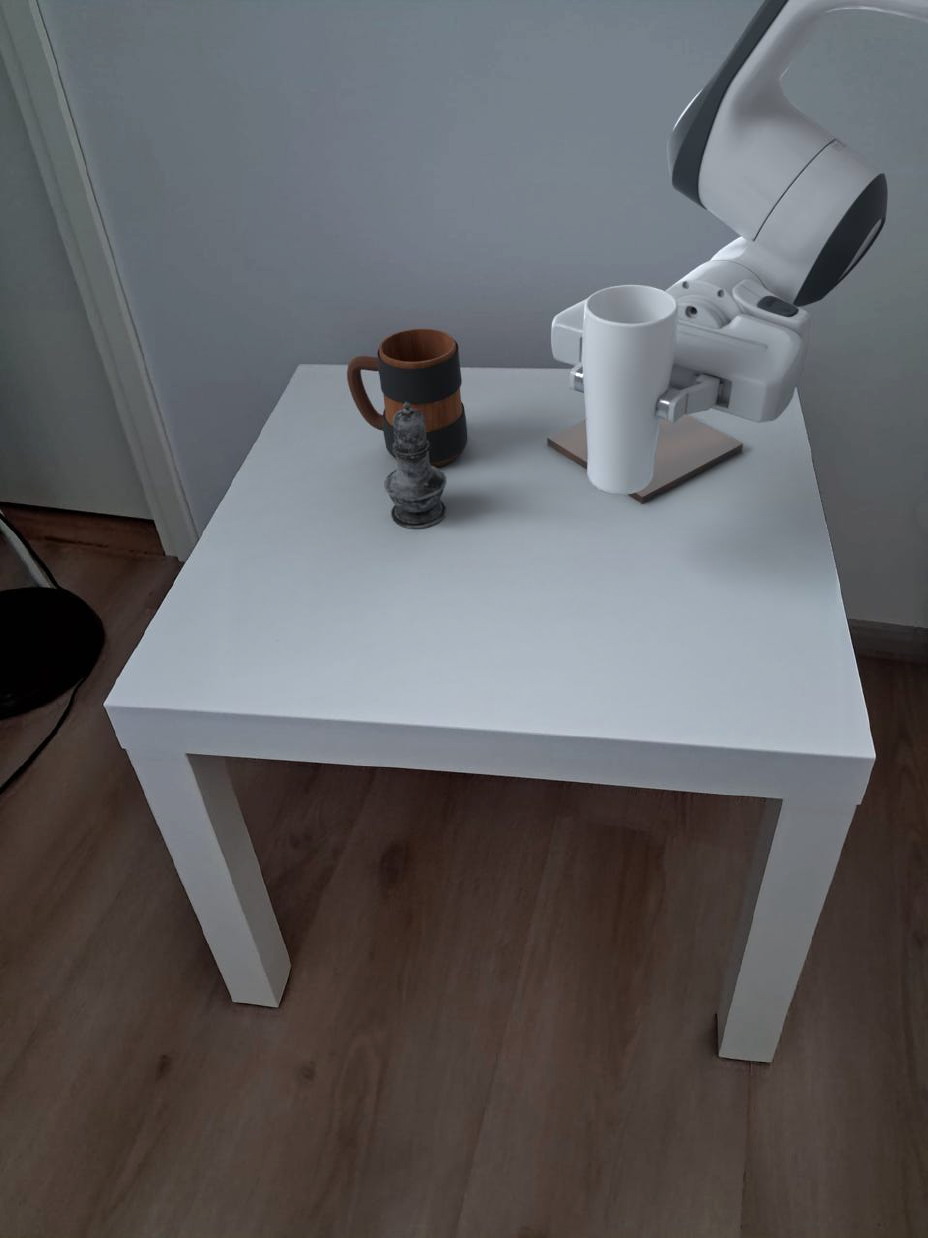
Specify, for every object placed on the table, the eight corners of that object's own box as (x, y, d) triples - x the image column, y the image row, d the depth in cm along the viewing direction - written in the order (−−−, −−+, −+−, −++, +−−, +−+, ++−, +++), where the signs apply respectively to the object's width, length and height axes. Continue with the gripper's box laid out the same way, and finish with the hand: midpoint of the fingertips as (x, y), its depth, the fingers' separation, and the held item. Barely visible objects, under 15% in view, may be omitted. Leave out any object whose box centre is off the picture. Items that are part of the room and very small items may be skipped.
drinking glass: (666, 460, 78) (684, 286, 68) (656, 508, 74) (674, 328, 63) (586, 452, 80) (592, 280, 70) (571, 498, 75) (575, 321, 65)
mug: (369, 422, 103) (355, 321, 95) (475, 429, 101) (470, 326, 93) (345, 465, 97) (327, 362, 89) (457, 474, 95) (450, 368, 87)
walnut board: (742, 450, 95) (743, 443, 94) (642, 504, 89) (642, 497, 89) (643, 398, 104) (644, 391, 103) (546, 444, 98) (546, 437, 97)
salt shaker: (384, 499, 92) (369, 390, 84) (443, 490, 93) (434, 381, 85) (392, 535, 88) (377, 423, 80) (453, 525, 88) (445, 413, 80)
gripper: (603, 262, 81) (508, 324, 74) (832, 318, 71) (750, 396, 64) (600, 330, 86) (510, 396, 78) (816, 392, 76) (737, 474, 68)
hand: (620, 397), depth 71 cm, fingers closed on drinking glass, 6 cm apart
